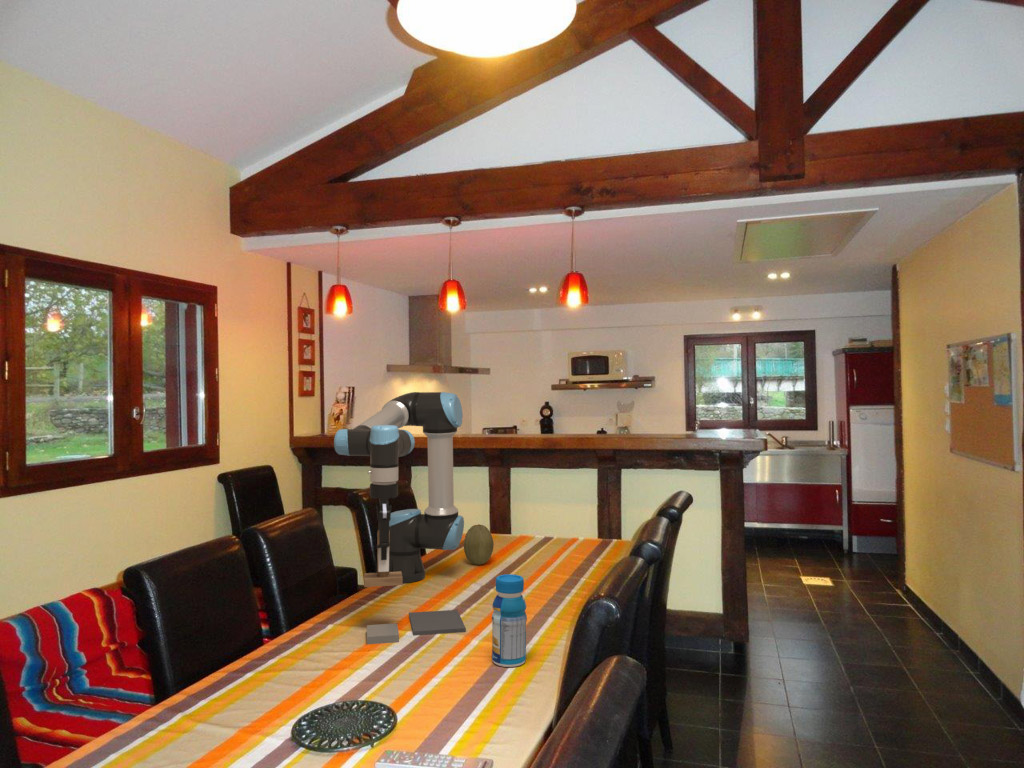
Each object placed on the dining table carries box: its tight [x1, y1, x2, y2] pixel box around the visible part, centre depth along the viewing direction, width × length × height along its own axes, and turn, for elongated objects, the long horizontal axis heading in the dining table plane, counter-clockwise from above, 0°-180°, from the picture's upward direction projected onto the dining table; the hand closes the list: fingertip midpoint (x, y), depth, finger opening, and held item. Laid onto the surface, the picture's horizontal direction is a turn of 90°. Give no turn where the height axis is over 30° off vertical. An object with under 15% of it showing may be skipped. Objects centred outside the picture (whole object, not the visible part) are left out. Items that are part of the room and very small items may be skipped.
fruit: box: [463, 523, 495, 566], centre depth 257 cm, size 11×11×15 cm
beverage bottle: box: [491, 573, 528, 668], centre depth 163 cm, size 8×8×20 cm
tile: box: [366, 622, 400, 645], centre depth 178 cm, size 2×8×9 cm
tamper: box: [363, 529, 404, 588], centre depth 183 cm, size 6×10×14 cm, turn 103°
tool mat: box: [408, 609, 467, 636], centre depth 189 cm, size 16×14×1 cm
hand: (383, 569), depth 183 cm, fingers closed on tamper, 3 cm apart
